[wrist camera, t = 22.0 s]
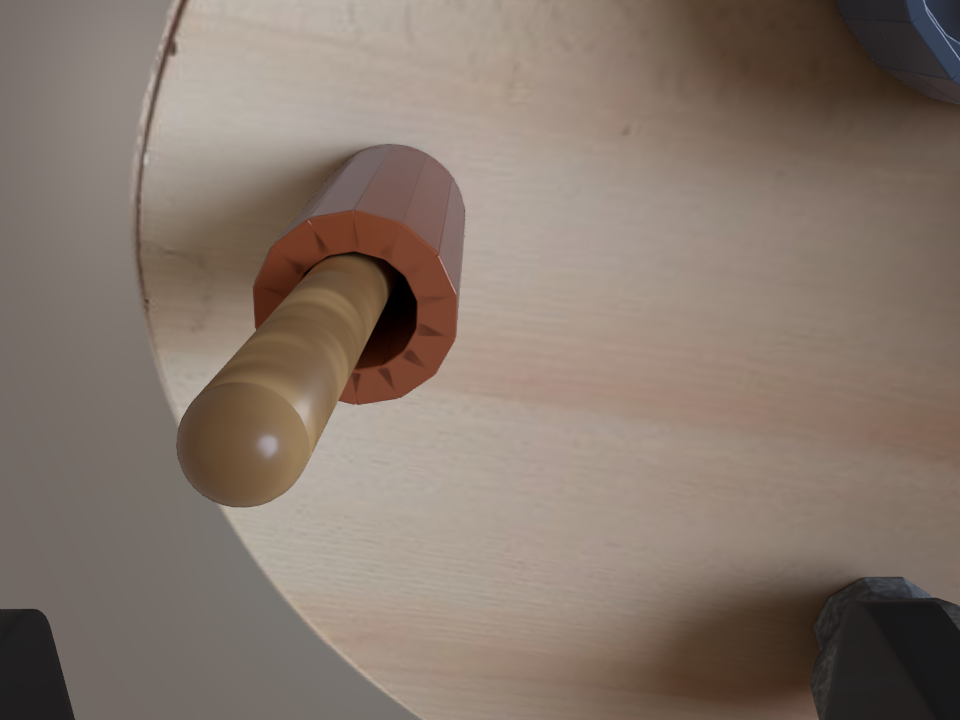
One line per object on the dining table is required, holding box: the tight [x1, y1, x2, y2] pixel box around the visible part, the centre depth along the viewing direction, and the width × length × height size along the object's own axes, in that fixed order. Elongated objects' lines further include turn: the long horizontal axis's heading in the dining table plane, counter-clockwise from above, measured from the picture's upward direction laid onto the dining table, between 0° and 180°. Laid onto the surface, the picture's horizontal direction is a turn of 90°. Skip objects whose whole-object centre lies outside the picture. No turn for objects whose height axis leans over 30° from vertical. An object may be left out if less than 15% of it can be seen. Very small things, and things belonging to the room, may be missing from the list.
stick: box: [177, 251, 401, 507], centre depth 26 cm, size 2×2×22 cm
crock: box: [253, 144, 465, 405], centre depth 31 cm, size 6×6×12 cm
